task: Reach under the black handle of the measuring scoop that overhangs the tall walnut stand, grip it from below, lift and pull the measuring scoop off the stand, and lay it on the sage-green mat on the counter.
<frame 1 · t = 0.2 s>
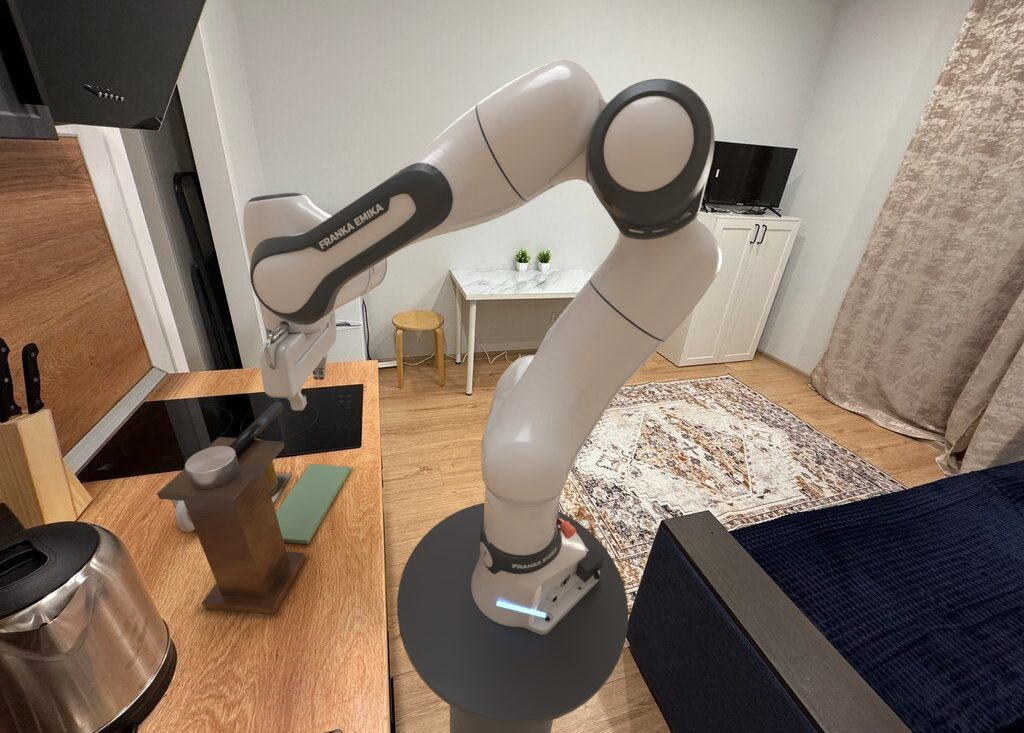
hand: (310, 392, 67), 29 cm above the countertop, tool pointing down, fingers open, 8 cm apart
stand: (273, 558, 73), on the countertop
measuring scoop: (241, 449, 62), point 24 cm above the countertop, touching stand
condiment: (265, 489, 87), on the countertop
mat: (309, 501, 85), on the countertop
cup: (201, 522, 79), on the countertop
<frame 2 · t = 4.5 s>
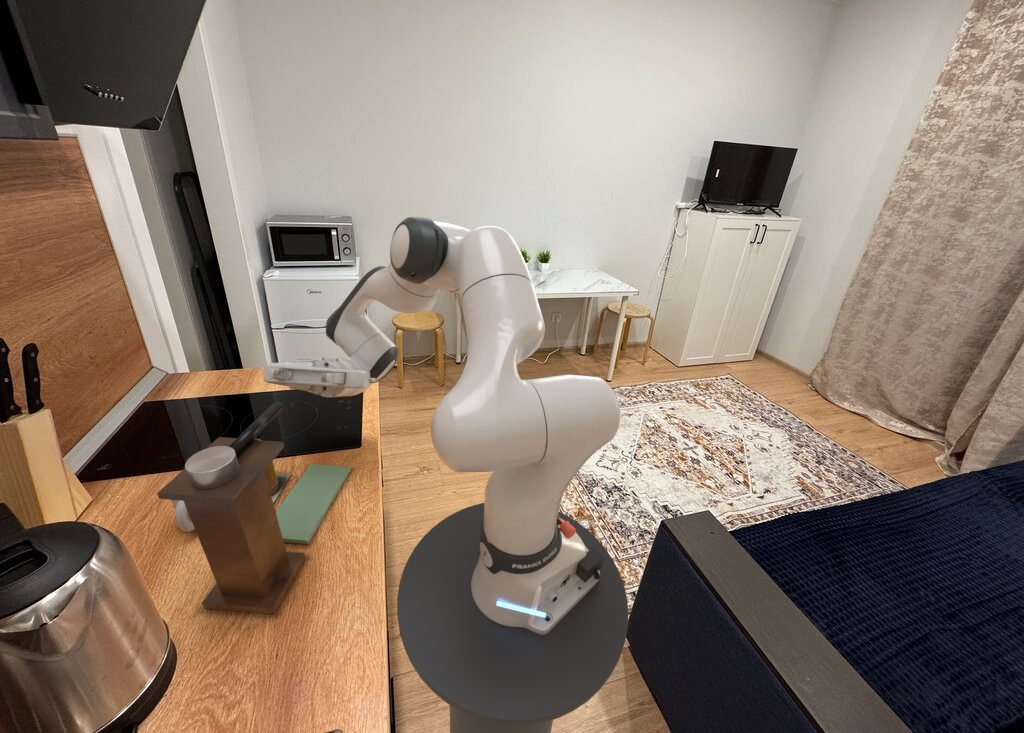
hand: (299, 375, 77), 26 cm above the countertop, tool pointing upward, fingers open, 8 cm apart
nothing on the countertop moved.
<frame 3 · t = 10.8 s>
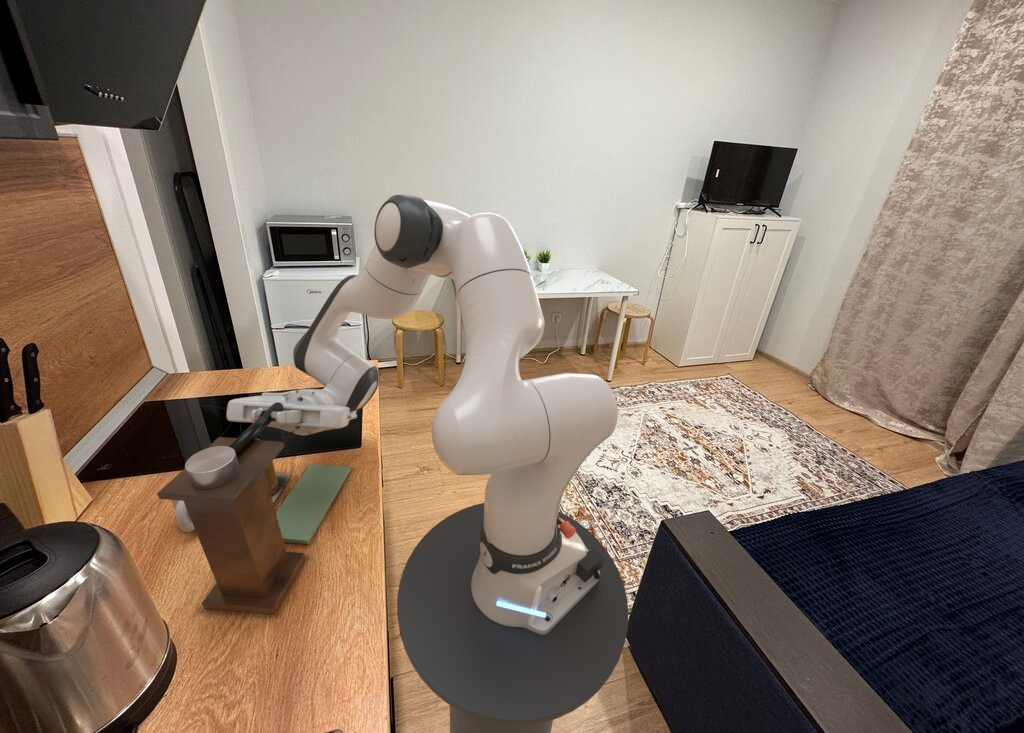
hand: (265, 416, 67), 25 cm above the countertop, tool pointing upward, fingers closed on measuring scoop, 2 cm apart
measuring scoop: (241, 449, 62), point 24 cm above the countertop, touching gripper, stand
everything else where it was.
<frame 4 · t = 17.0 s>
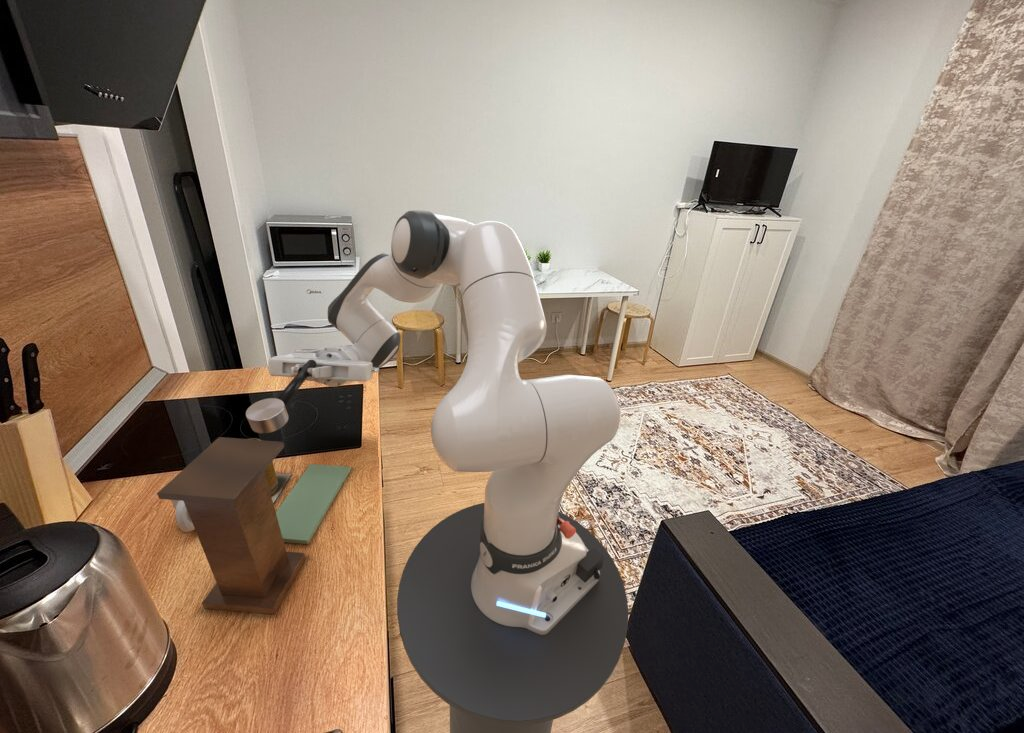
hand: (302, 372, 79), 26 cm above the countertop, tool pointing upward, fingers closed on measuring scoop, 2 cm apart
measuring scoop: (286, 400, 74), point 24 cm above the countertop, tilted 8°, touching gripper
everything else where it was.
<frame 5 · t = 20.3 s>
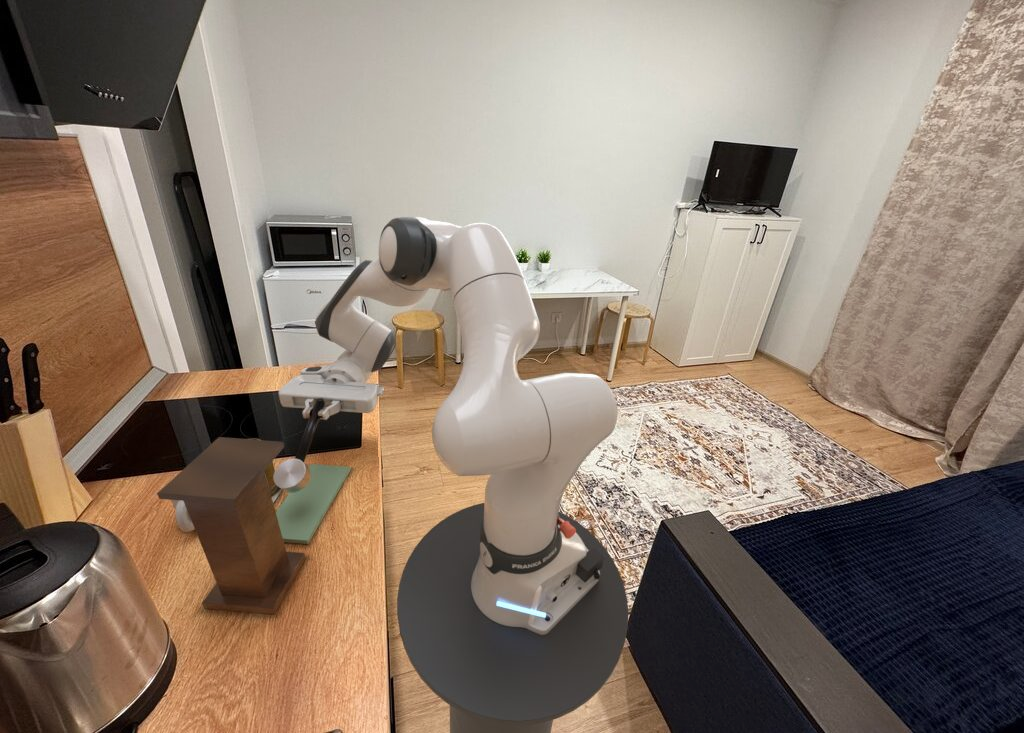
hand: (313, 416, 84), 16 cm above the countertop, tool horizontal, fingers closed on measuring scoop, 2 cm apart
measuring scoop: (305, 450, 81), point 12 cm above the countertop, tilted 30°, touching gripper
everything else where it was.
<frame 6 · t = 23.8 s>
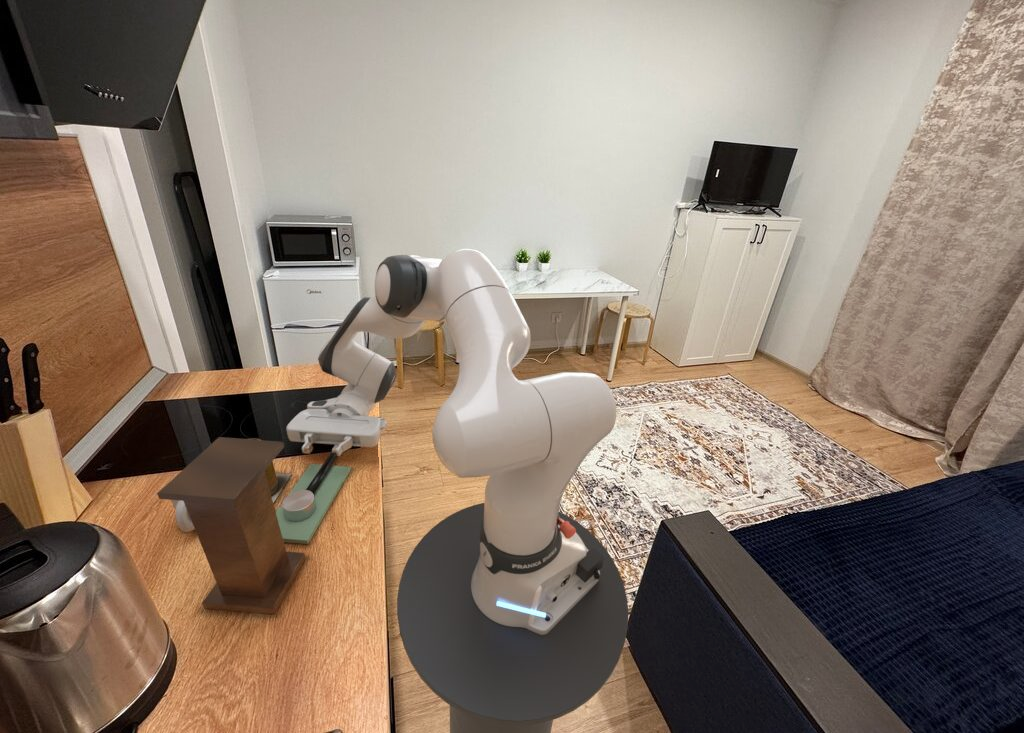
hand: (320, 452, 88), 7 cm above the countertop, tool horizontal, fingers open, 5 cm apart
measuring scoop: (313, 490, 86), point 1 cm above the countertop, touching mat
everything else where it was.
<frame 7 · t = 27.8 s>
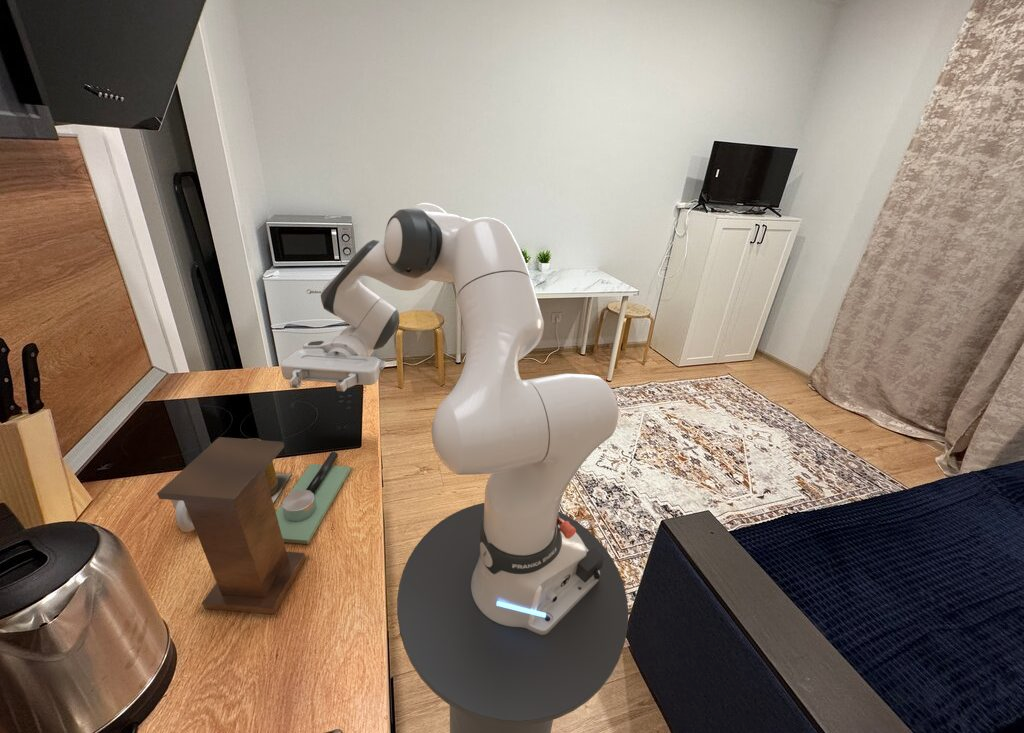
hand: (316, 386, 84), 21 cm above the countertop, tool horizontal, fingers open, 8 cm apart
nothing on the countertop moved.
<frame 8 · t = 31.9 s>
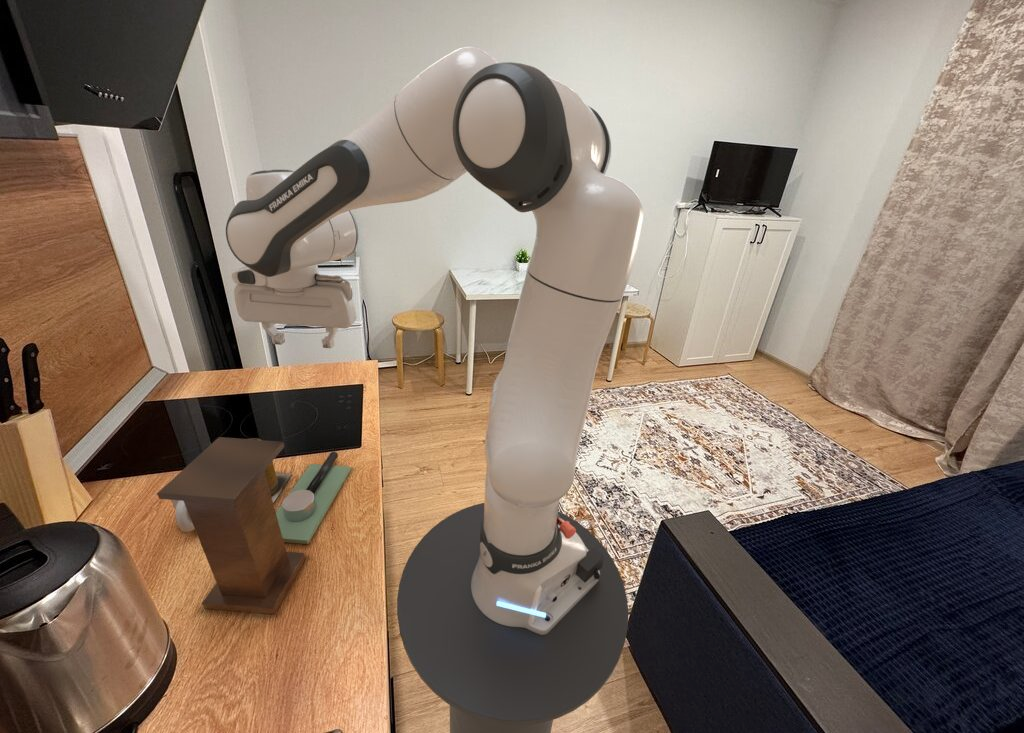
hand: (304, 345, 78), 31 cm above the countertop, tool pointing down, fingers open, 8 cm apart
nothing on the countertop moved.
at the end: measuring scoop inside the target area on the mat (2.2 cm from its centre), point 1.0 cm above the mat's base; measuring scoop tilted 0°; the gripper is holding nothing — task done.
